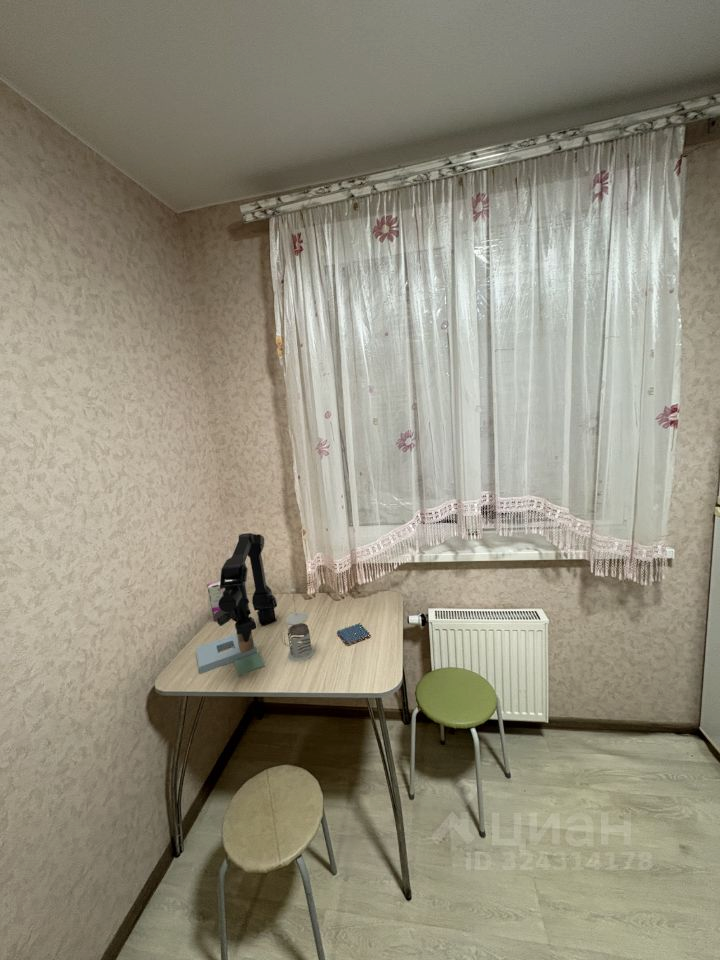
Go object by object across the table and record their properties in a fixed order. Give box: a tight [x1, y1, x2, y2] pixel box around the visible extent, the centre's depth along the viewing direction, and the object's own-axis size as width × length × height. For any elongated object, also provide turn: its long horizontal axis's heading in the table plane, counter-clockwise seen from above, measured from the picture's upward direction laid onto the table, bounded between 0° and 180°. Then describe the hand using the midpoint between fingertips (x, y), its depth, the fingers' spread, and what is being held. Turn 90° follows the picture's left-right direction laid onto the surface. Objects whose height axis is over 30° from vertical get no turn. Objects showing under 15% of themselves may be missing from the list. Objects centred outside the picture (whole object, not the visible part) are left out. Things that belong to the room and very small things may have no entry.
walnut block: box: [235, 630, 254, 653], centre depth 133 cm, size 4×4×9 cm
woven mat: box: [336, 622, 372, 647], centre depth 146 cm, size 10×11×2 cm
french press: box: [280, 588, 316, 662], centre depth 136 cm, size 10×12×25 cm
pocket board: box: [195, 633, 258, 674], centre depth 143 cm, size 20×14×2 cm
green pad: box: [233, 651, 265, 677], centre depth 135 cm, size 9×9×1 cm
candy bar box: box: [206, 579, 232, 622], centre depth 170 cm, size 11×5×16 cm, turn 117°
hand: (245, 638), depth 133 cm, fingers closed on walnut block, 4 cm apart
